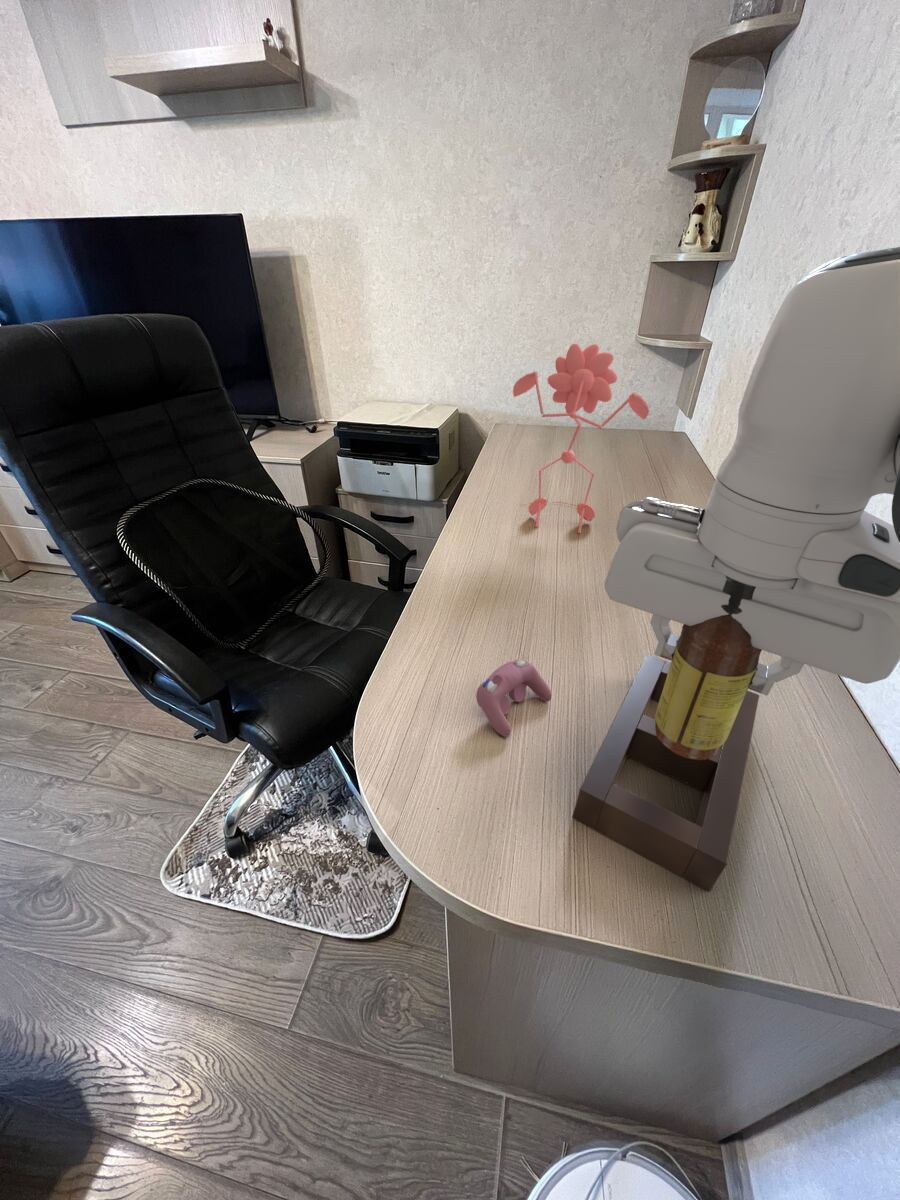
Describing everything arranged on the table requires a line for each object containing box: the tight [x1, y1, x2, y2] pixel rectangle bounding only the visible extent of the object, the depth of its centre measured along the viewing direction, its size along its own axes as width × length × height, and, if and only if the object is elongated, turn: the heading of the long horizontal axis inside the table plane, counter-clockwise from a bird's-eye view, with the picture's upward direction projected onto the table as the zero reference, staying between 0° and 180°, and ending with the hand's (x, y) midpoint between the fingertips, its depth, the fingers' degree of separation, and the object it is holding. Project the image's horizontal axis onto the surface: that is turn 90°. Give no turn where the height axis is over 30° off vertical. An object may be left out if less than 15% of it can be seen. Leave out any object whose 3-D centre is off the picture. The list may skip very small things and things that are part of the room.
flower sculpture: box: [512, 343, 650, 538], centre depth 102 cm, size 15×26×35 cm, turn 74°
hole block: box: [572, 653, 760, 893], centre depth 56 cm, size 14×24×5 cm, turn 147°
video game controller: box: [475, 659, 552, 738], centre depth 64 cm, size 10×5×7 cm, turn 135°
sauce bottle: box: [654, 575, 763, 760], centre depth 42 cm, size 7×6×20 cm
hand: (709, 670), depth 43 cm, fingers closed on sauce bottle, 6 cm apart
